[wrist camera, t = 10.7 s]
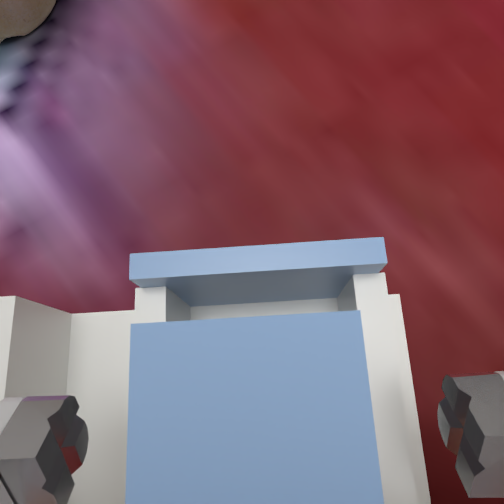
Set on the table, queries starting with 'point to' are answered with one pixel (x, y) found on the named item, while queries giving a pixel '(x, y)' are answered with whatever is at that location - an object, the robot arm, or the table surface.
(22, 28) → the flower pot
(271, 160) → the table surface
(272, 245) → the slotted rack with block
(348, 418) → the plug
